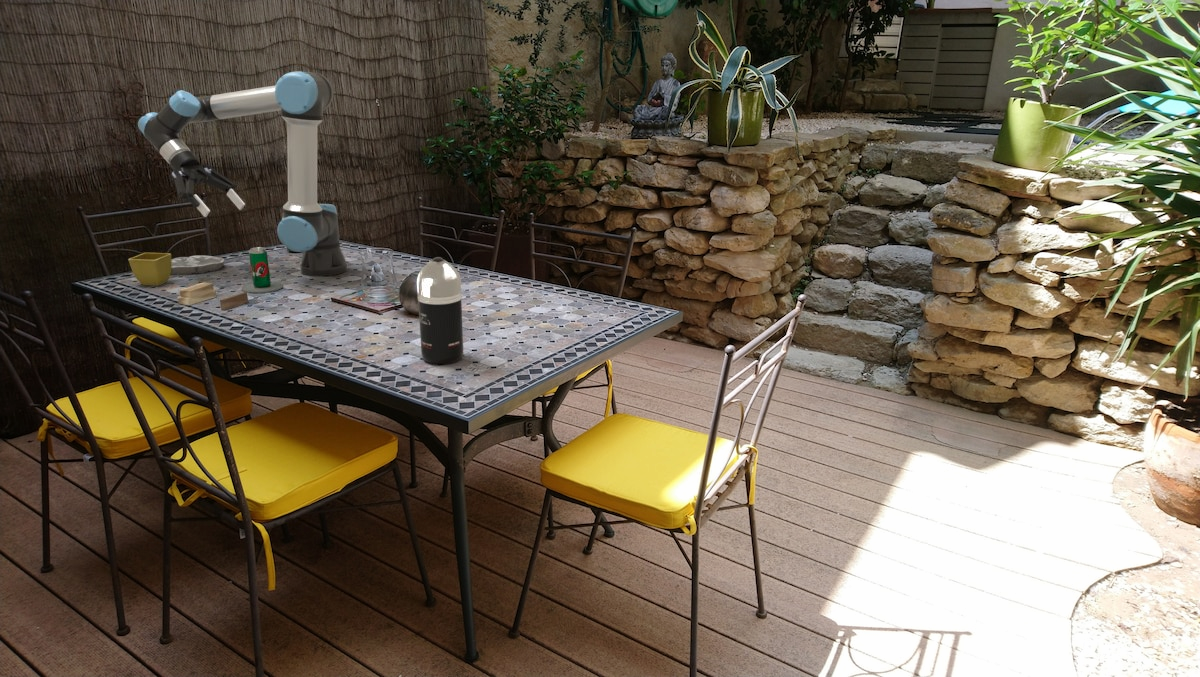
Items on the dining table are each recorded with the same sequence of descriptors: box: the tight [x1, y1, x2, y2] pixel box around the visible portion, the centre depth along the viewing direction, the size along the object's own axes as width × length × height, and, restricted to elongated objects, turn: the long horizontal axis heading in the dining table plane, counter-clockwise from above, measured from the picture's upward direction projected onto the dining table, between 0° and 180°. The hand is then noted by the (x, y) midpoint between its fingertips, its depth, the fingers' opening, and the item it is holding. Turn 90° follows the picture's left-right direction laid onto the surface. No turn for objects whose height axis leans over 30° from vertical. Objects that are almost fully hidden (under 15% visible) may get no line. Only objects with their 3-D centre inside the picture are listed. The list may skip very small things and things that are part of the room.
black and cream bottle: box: [416, 256, 464, 365], centre depth 174 cm, size 10×10×25 cm
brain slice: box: [170, 255, 225, 276], centre depth 250 cm, size 20×17×3 cm
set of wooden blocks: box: [177, 282, 249, 311], centre depth 214 cm, size 17×10×4 cm, turn 70°
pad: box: [241, 280, 284, 294], centre depth 231 cm, size 12×12×1 cm
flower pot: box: [127, 252, 172, 287], centre depth 231 cm, size 9×9×9 cm
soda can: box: [248, 246, 272, 288], centre depth 229 cm, size 5×5×12 cm
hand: (225, 210), depth 226 cm, fingers open, 13 cm apart
